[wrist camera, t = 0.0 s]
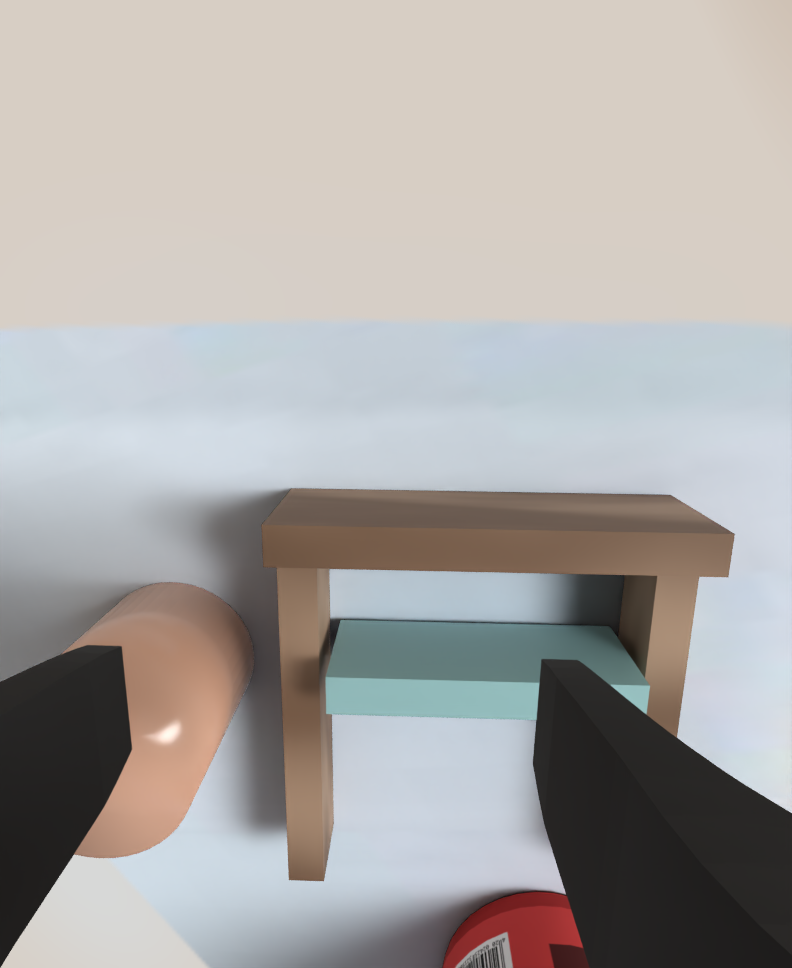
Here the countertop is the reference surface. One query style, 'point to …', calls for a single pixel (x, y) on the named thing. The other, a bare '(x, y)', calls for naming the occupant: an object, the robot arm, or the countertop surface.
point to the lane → (471, 548)
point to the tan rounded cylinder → (168, 706)
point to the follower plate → (465, 667)
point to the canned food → (519, 935)
